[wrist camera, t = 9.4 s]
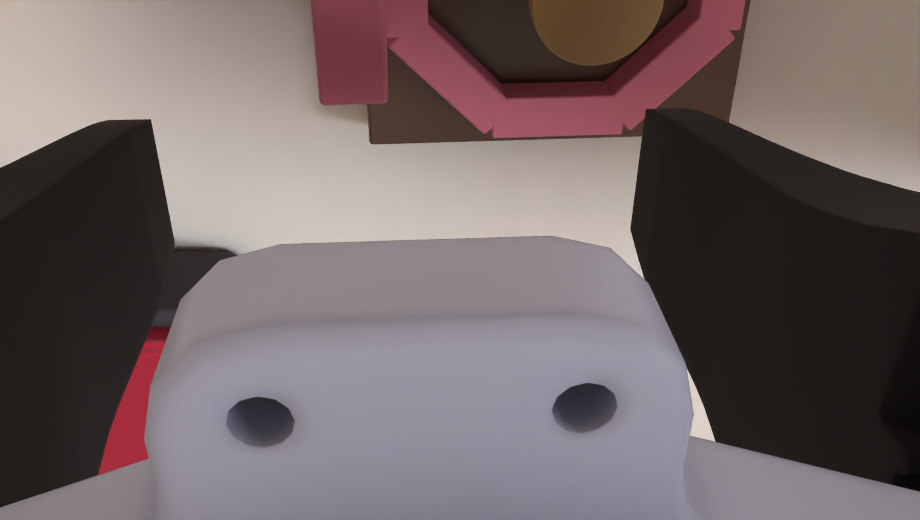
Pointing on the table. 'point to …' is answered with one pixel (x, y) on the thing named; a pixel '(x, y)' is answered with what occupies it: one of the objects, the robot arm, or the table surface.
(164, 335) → the button keypad
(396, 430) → the robot arm
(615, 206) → the table surface
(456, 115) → the stand
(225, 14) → the table surface
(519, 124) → the pink octagonal frame
